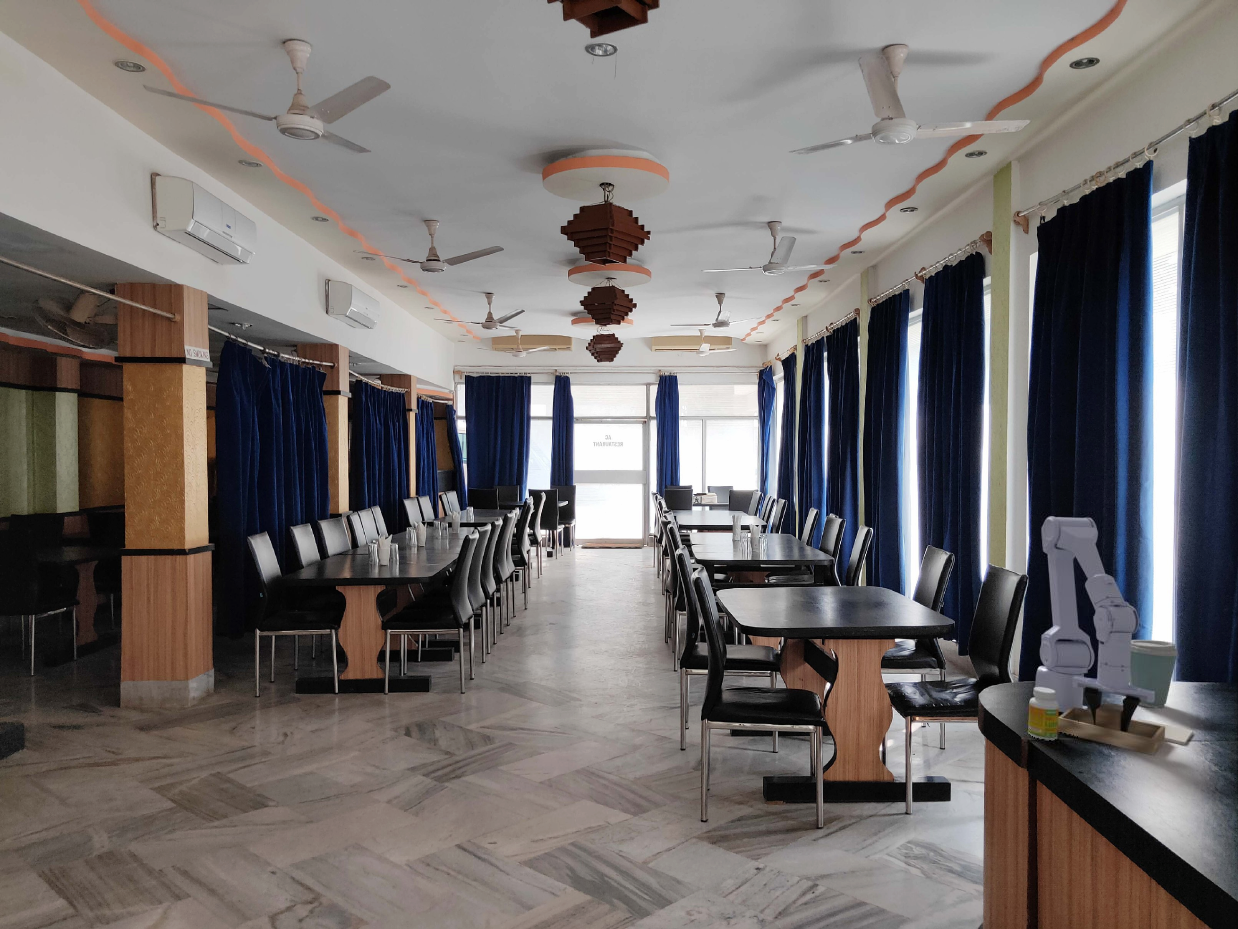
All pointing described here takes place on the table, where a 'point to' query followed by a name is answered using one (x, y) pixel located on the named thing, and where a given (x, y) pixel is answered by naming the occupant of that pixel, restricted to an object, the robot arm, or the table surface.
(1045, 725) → the supplement bottle
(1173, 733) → the pad
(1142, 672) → the disposable coffee cup
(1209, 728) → the table surface
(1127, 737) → the frame
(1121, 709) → the block
